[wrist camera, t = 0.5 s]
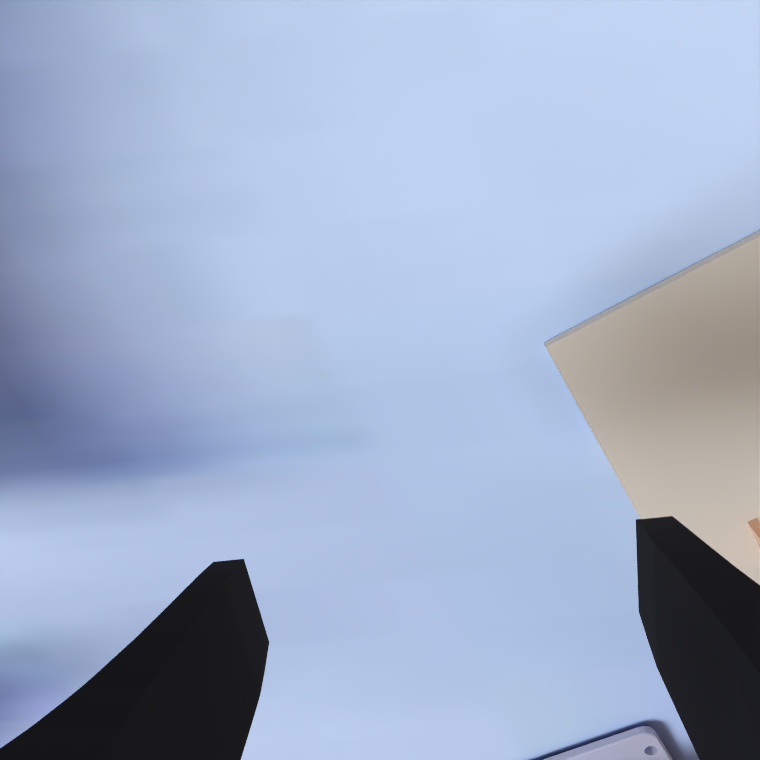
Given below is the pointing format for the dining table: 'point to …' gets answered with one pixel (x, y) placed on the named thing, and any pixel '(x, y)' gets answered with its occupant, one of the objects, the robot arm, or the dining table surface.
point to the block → (755, 528)
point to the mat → (680, 397)
